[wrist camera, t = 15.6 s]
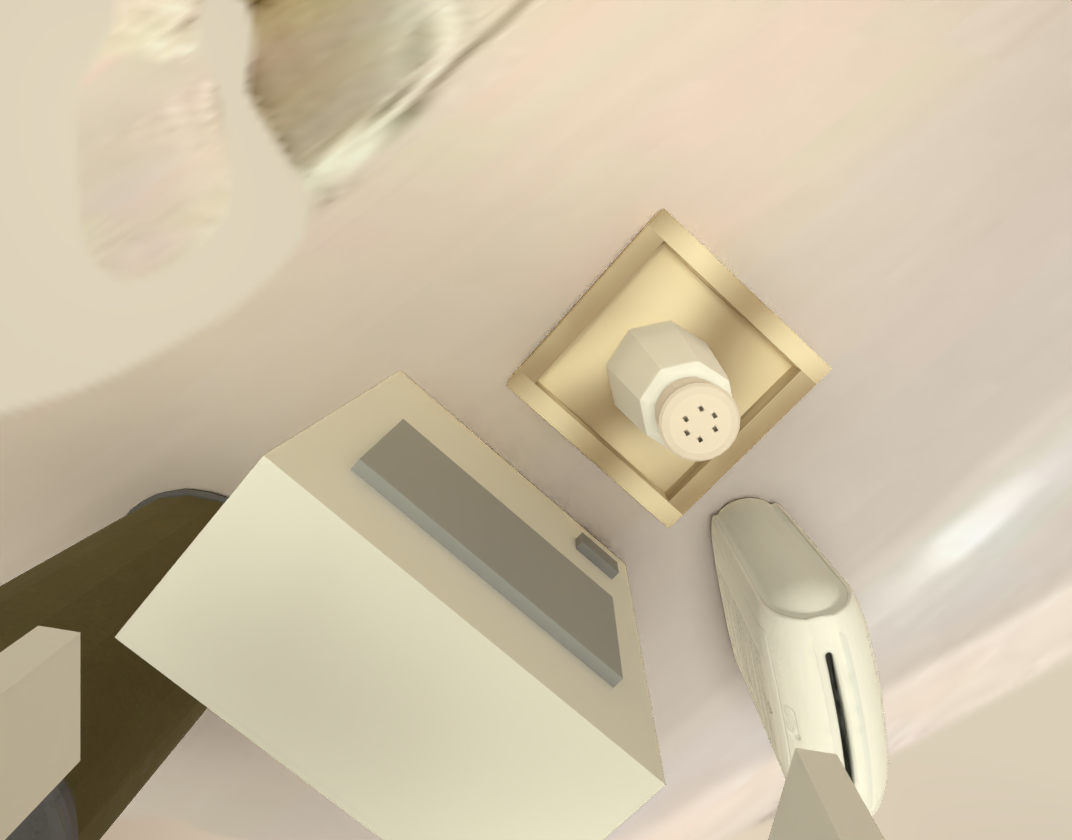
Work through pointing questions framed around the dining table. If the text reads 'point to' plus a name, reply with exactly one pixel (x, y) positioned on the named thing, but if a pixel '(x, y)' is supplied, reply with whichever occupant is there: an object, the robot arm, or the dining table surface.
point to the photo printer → (800, 643)
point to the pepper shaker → (674, 391)
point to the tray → (697, 306)
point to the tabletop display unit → (414, 633)
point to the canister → (109, 658)
